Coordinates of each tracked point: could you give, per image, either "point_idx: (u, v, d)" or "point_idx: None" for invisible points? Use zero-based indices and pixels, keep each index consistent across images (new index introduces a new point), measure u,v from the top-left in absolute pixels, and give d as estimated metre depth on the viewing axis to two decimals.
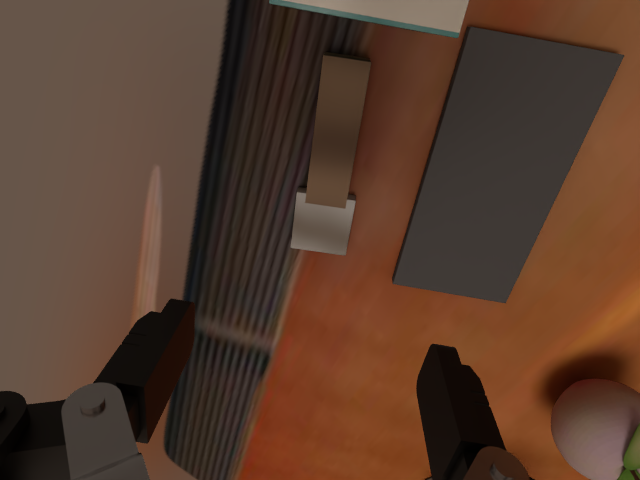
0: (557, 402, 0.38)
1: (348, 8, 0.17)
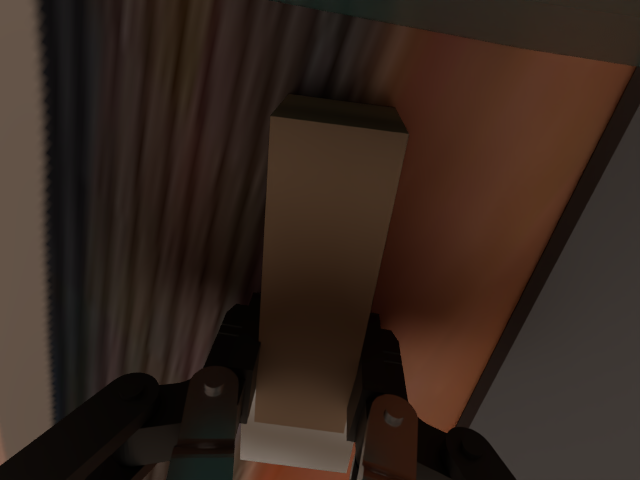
0: None
1: None
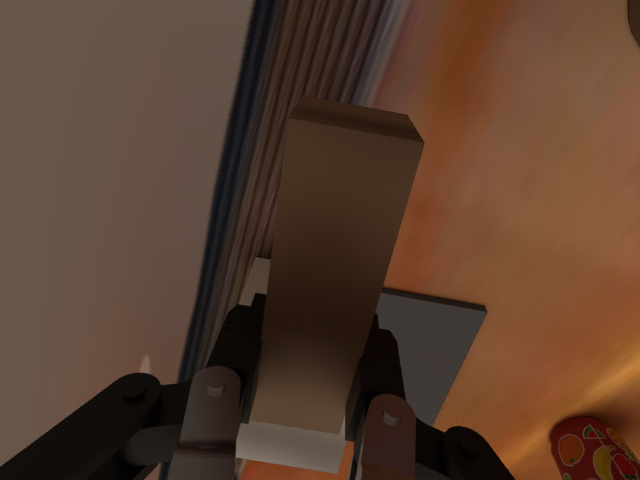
0: None
1: None
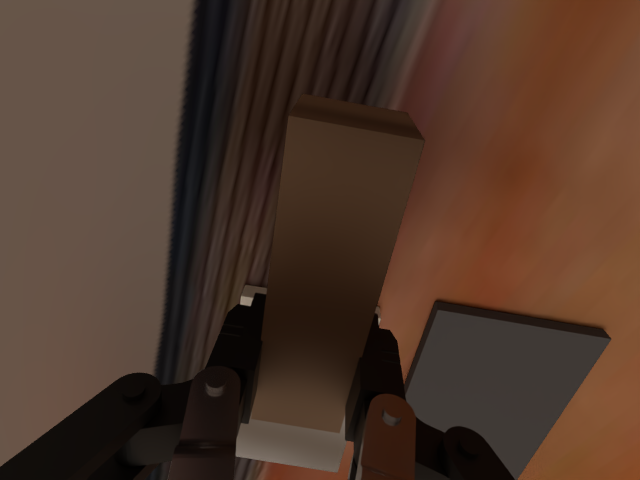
0: None
1: None
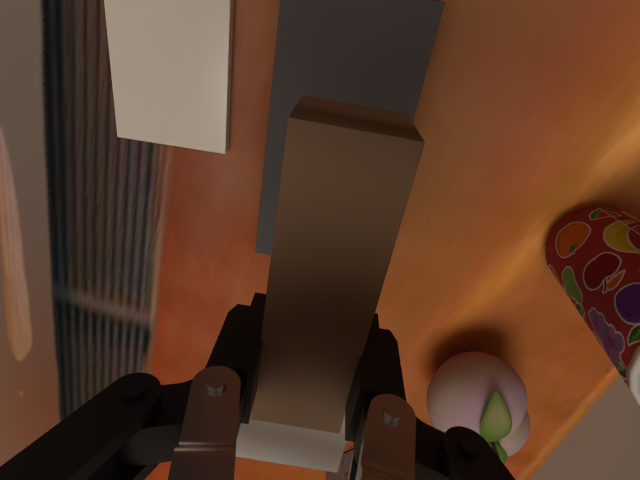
0: (433, 376, 0.37)
1: None
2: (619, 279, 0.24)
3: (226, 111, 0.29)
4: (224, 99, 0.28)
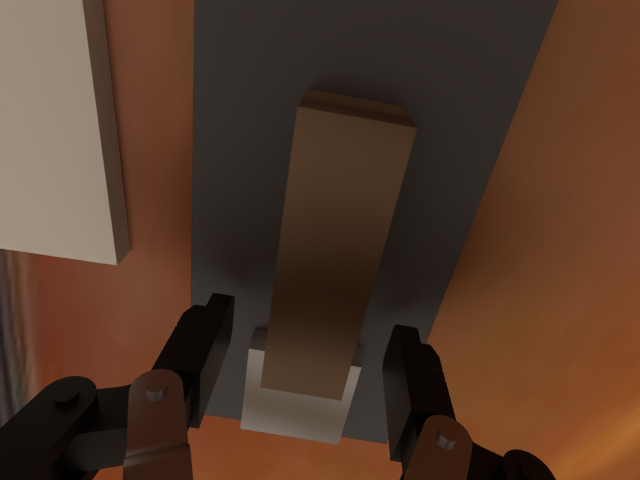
0: None
1: None
2: None
3: (107, 192, 0.15)
4: (100, 170, 0.14)
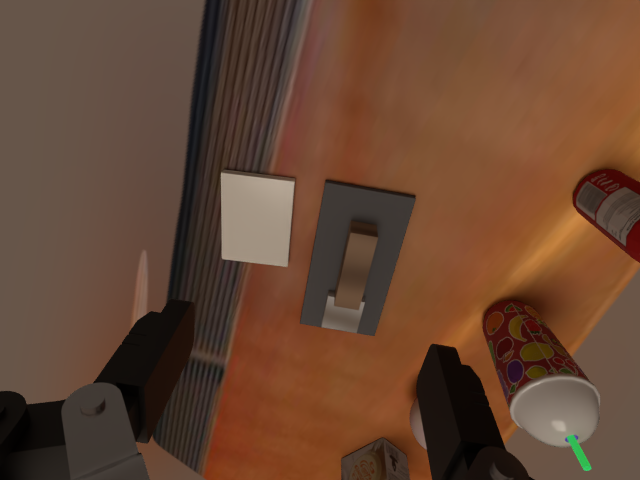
0: (414, 401, 0.56)
1: None
2: (510, 355, 0.43)
3: (289, 244, 0.48)
4: (288, 238, 0.47)
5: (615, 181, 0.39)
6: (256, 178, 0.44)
